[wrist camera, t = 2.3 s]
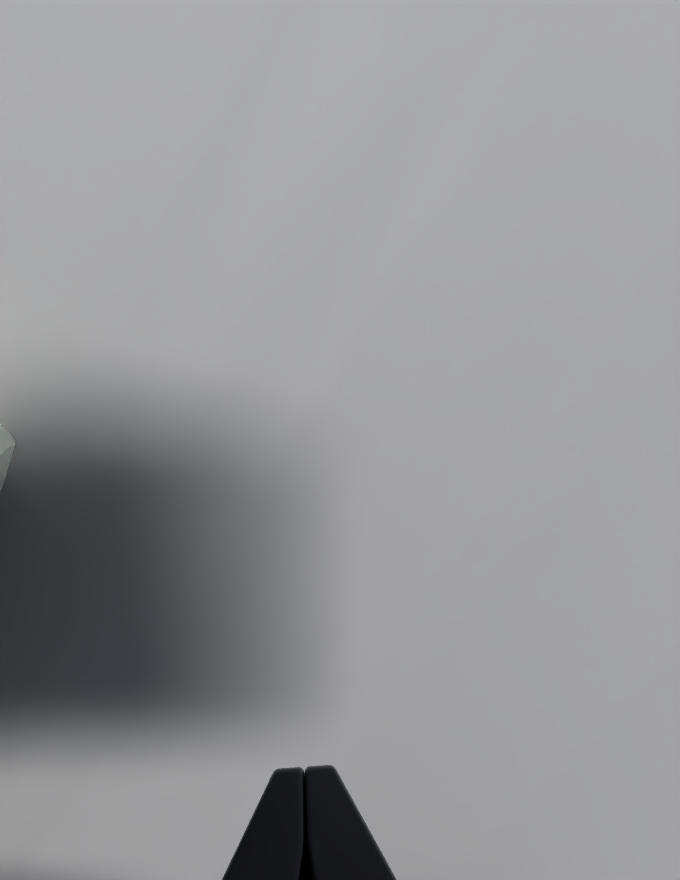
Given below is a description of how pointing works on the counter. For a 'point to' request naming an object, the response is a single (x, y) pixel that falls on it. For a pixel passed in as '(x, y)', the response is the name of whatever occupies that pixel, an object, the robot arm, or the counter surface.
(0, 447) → the valve
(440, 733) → the counter surface
